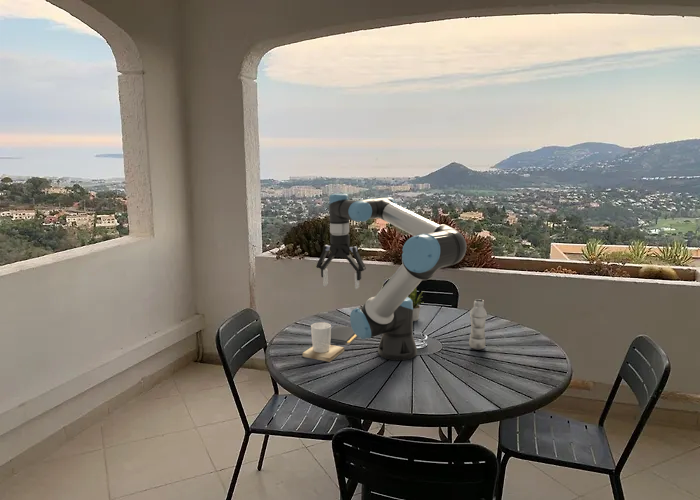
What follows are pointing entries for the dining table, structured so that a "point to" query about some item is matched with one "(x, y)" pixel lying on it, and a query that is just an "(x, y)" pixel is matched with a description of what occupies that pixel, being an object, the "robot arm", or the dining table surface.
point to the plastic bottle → (478, 325)
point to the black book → (342, 335)
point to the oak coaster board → (324, 356)
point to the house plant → (415, 304)
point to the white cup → (321, 337)
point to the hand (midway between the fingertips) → (341, 286)
